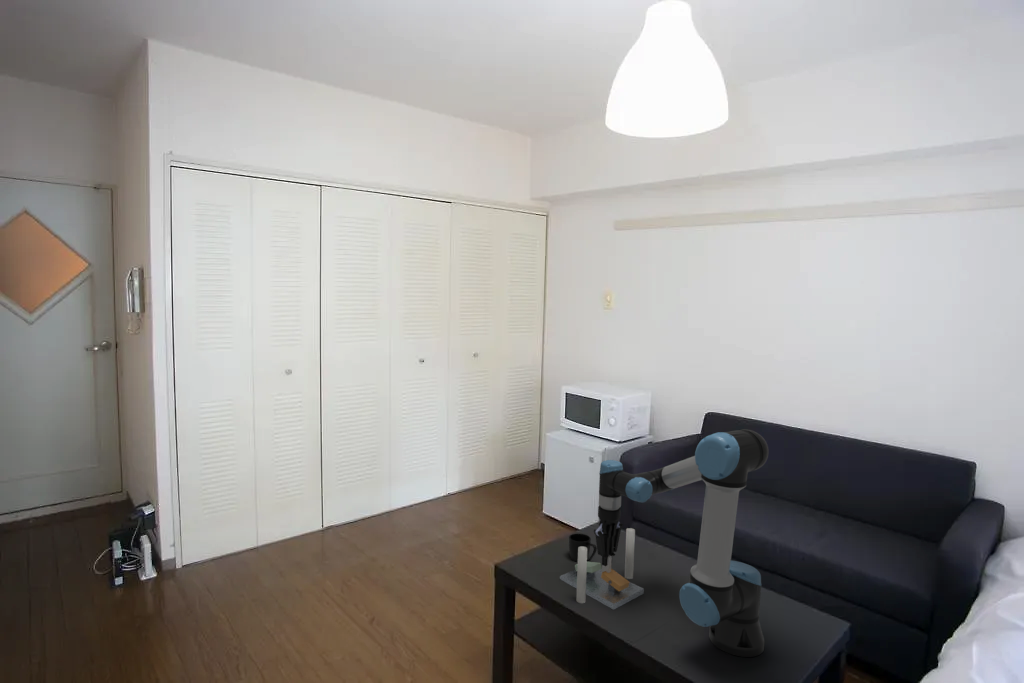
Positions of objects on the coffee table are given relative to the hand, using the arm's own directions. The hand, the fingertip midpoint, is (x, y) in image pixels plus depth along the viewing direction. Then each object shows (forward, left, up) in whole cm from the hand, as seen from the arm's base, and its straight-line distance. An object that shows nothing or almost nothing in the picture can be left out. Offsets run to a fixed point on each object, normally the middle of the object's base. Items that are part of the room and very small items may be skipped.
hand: (606, 573), depth 194 cm
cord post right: (0, -13, -6) cm, 14 cm away
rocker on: (+8, 0, -1) cm, 8 cm away
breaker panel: (+2, 0, -6) cm, 6 cm away
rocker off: (-4, 0, -1) cm, 4 cm away
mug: (+19, -9, -6) cm, 22 cm away
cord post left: (0, +13, -6) cm, 14 cm away
